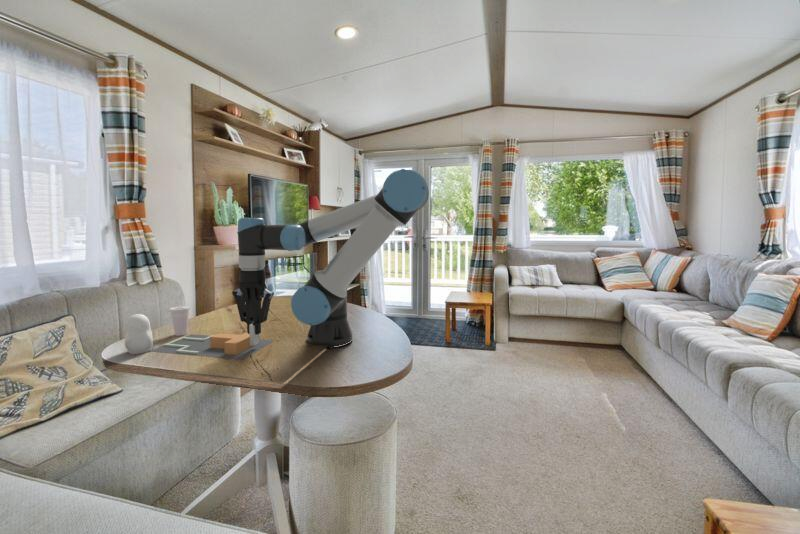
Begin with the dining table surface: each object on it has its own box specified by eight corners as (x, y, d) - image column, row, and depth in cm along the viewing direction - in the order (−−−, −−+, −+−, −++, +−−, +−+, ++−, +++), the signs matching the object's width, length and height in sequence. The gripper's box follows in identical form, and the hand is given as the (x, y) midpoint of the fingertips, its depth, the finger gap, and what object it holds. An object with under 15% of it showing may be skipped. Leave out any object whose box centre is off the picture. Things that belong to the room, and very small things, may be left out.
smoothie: (182, 337, 133) (179, 298, 131) (166, 336, 134) (163, 297, 132) (195, 332, 139) (193, 294, 137) (180, 331, 140) (177, 293, 138)
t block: (259, 342, 125) (258, 332, 124) (236, 354, 113) (236, 343, 113) (226, 339, 127) (226, 329, 127) (201, 351, 115) (200, 340, 115)
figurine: (124, 356, 114) (121, 317, 112) (128, 349, 120) (125, 312, 119) (152, 353, 117) (149, 315, 115) (154, 345, 124) (152, 309, 122)
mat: (275, 343, 127) (275, 340, 127) (242, 362, 109) (242, 359, 109) (191, 337, 133) (191, 334, 133) (148, 354, 116) (148, 351, 115)
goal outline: (231, 338, 129) (230, 336, 129) (197, 354, 113) (197, 352, 113) (191, 335, 132) (191, 333, 132) (153, 350, 116) (153, 348, 116)
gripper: (278, 268, 118) (279, 342, 121) (240, 266, 120) (242, 338, 123) (265, 271, 110) (267, 349, 113) (225, 269, 113) (228, 346, 116)
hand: (254, 343), depth 118 cm, fingers closed
